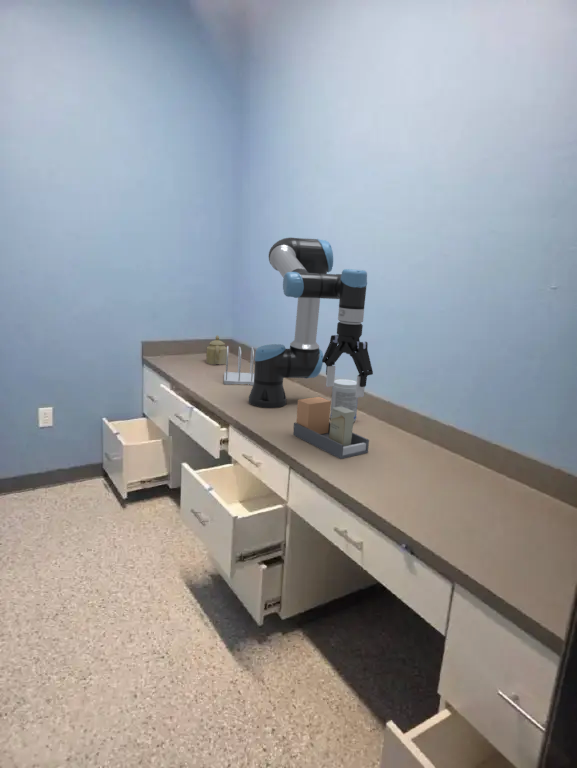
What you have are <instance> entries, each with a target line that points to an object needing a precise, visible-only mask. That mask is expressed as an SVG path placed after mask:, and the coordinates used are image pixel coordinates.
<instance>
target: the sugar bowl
mask: <svg viewBox="0 0 577 768" xmlns="http://www.w3.org/2000/svg"><path fill="white" fill-rule="evenodd" d="M225 345H226V343H225V342H223V340H220V337H219V335H218V334H217V335H216V336H215V339H214V340H211V342H209V345H208V346H207V347H206V362H207V363H209V364H208V365H210V364H225V363H226V360H227V346H225ZM207 363H206V364H207ZM225 365H226V364H225Z"/></svg>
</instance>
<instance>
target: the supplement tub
mask: <svg viewBox="0 0 577 768" xmlns="http://www.w3.org/2000/svg"><path fill="white" fill-rule="evenodd" d="M356 384H357V380H352V379H345V378H341V379H340V378H339V379H334V386H331V390H332V391H331V400H330V401H331V406H330V419H331V415H332V408H333V407H340V406H342V407H345V408H348V409H350V410H352V411H355V414H354V422H356V421H357V412H358V399H359V397H358V398H357V397H355V394H356ZM354 422H353V423H354Z"/></svg>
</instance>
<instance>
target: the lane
mask: <svg viewBox="0 0 577 768" xmlns="http://www.w3.org/2000/svg"><path fill="white" fill-rule="evenodd" d="M330 424H331V421H329V431H328V433H324V434H319V433H317V432H315V431H312V430H310V429H308V428H306V427H304V426H302V425H300V424H298V423H296V422H293V433H292V434H293V436H294V437H296V438H298V439H300V440H303V441H304V442H307V443H309V444H310V445H312V446H315V447H316V448H319V449H320V450H322V451H325V452H326V453H328V454H330V455H332V456H334V457H336V458H338V459H340V460H343V459H348V458H351V457H355V456H356V457H357V456H359V455H365V454H368V453H369V444H370V439H368V438H366V437H365V436H364V437H363V436H362V435H359V434H357V433H355V432H353V431H352V439H351V445H349V446H345V447H343V446H344V445H342V444H340V443H338V442H336V441H334V440H331V439H329V433H330Z"/></svg>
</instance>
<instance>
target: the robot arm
mask: <svg viewBox="0 0 577 768" xmlns="http://www.w3.org/2000/svg"><path fill="white" fill-rule="evenodd" d="M332 248H333V247H332V245H331V243H330V242H329V241H327V239H325V240H324V239H319V238H301V237H286V238H282V239H279V240H278V241H276V242H275V243H273V244H272V245H271V247H270V249H269V251H268V261H269V264H270V265H271V266H272V268H273V269H274V270H275V271H277V272H279V274H280V275H281V277H282V278H283V279H282V290H283V294H284V296H285V297H287V298H295V299H297V306H296V316H295V318H296V319H295V330H294V340H293V341H291V342H290V344H289V345H290V346H289V348H286V345H284V344H279V343H278V344H275V343H274V344H266V345H265V344H264V345H261V346H258V347H257V348H256V350H255V351H254V367H253V373H254V384H253V385H252V388H251V390H250V393H249V396H248V404H250V405H252V406H254V407H258V408H265V409H273V408H274V409H275V408H281V407H285V406H286V404H287V396H286V392H285V389H284V379H314V378H316V377H318V376H319V375H320V373H321V371H322V369H323V368H322V367H323V364H325V366H326V369H325V375H326V380H325V381H326V382H325V387H327V388H329V387H332V386H334V380H335V377H336V376H335V375H336V364H335V363H337V361H338V360H339V358H340V357H341V355H343V354H346V355H349V356H350V357H351V358H352V360H353V362H354V365H355V367H356V370H357V371H358V375H357V376H356V381H357V384H356V394H355V397H357V398H358V399H359V398H363V397H364V396H365V387H366V386H367V379H368V376H372V375H374V371H373V367H372V363H371V359H370V355H369V350H368V345H369V344H368V342H367V341H361V340H360V338H361V337H362V335H363V327H364V325H363V324H362V323H363V322H364V318H365V317H364V315H365V303H366V294H367V287H368V286H367V285H368V272H367V271H366V270H364V269H350V268H344V269H342V271H341V274H340V273H336V274H335V273H334V274H332V273H330V272H332V270H333V266H334V251H333V249H332ZM321 299H324V300H325V299H328V300H339V302H338V316H337V320H338V323H337V326H336V334H334V335H333V334H332V335H331V336H330V338H329V339H330V340H329V344H328V346H327V347H326V350H325V352H324V353H323V350H322V349H320V345H319V343H318V342H317V335H318V324H319V315H320V314H319V313H320V302H321Z"/></svg>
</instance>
